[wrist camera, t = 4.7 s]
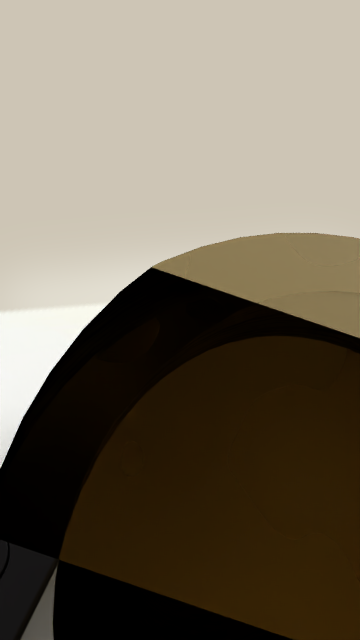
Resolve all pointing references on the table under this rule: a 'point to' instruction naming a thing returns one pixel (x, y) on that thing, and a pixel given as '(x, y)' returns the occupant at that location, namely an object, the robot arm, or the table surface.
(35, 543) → the brass fitting
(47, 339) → the table surface
